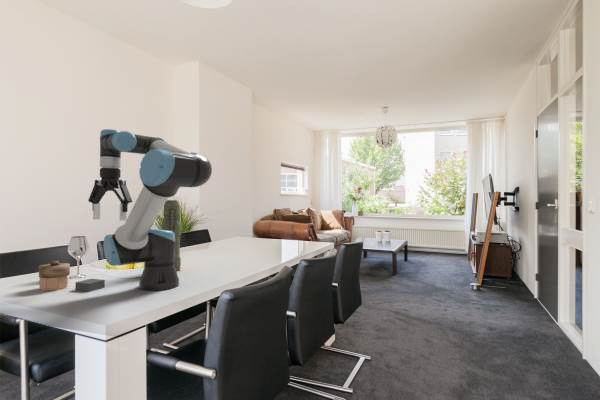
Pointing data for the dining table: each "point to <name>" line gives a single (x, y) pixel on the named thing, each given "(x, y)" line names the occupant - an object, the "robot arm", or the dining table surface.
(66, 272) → the lid
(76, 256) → the wineglass
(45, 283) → the bowl
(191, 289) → the dining table surface
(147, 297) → the dining table surface
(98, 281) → the stand
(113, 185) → the robot arm
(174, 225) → the thermos
